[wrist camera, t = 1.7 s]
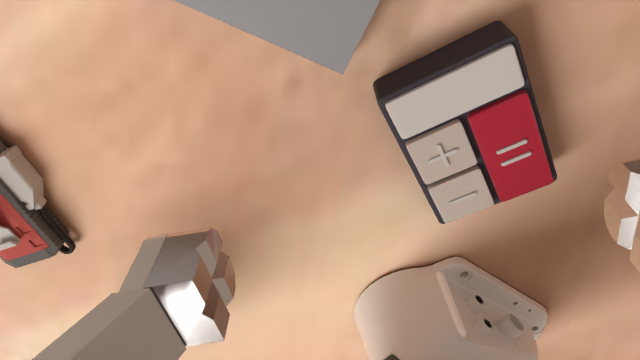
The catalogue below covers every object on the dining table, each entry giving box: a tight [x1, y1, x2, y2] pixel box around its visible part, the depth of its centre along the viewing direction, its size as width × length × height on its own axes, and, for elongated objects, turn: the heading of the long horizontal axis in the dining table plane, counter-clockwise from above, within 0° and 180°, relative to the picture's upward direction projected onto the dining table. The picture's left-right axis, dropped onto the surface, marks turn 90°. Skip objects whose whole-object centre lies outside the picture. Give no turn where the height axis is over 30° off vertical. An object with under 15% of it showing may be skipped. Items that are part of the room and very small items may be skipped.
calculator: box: [373, 21, 557, 224], centre depth 40 cm, size 11×4×15 cm
